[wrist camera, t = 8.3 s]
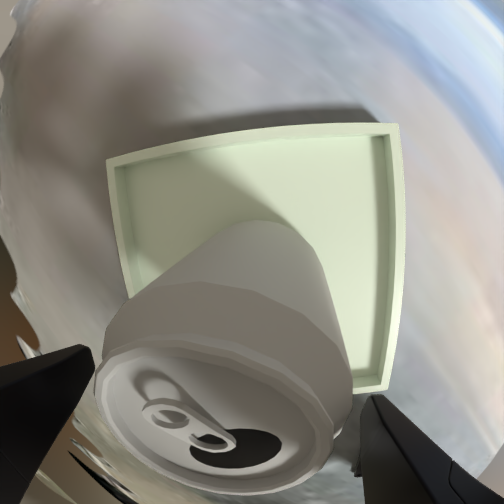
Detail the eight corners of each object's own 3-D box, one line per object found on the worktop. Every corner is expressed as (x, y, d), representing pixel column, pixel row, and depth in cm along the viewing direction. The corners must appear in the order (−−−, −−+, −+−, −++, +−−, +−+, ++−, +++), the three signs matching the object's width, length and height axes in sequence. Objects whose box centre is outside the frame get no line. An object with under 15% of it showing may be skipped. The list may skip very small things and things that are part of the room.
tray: (381, 373, 18) (387, 389, 16) (167, 376, 21) (157, 390, 19) (386, 129, 14) (398, 123, 12) (122, 160, 17) (105, 159, 15)
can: (249, 352, 18) (202, 514, 7) (176, 266, 17) (38, 380, 6) (346, 293, 16) (406, 464, 5) (272, 190, 15) (209, 224, 4)
